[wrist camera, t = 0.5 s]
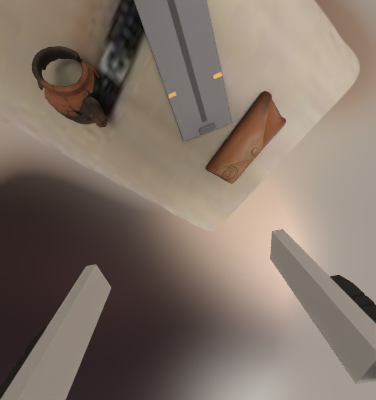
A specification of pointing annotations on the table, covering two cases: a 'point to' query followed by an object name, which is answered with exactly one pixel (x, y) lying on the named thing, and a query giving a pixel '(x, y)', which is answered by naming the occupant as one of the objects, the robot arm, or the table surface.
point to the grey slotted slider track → (187, 62)
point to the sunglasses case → (247, 139)
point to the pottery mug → (70, 88)
